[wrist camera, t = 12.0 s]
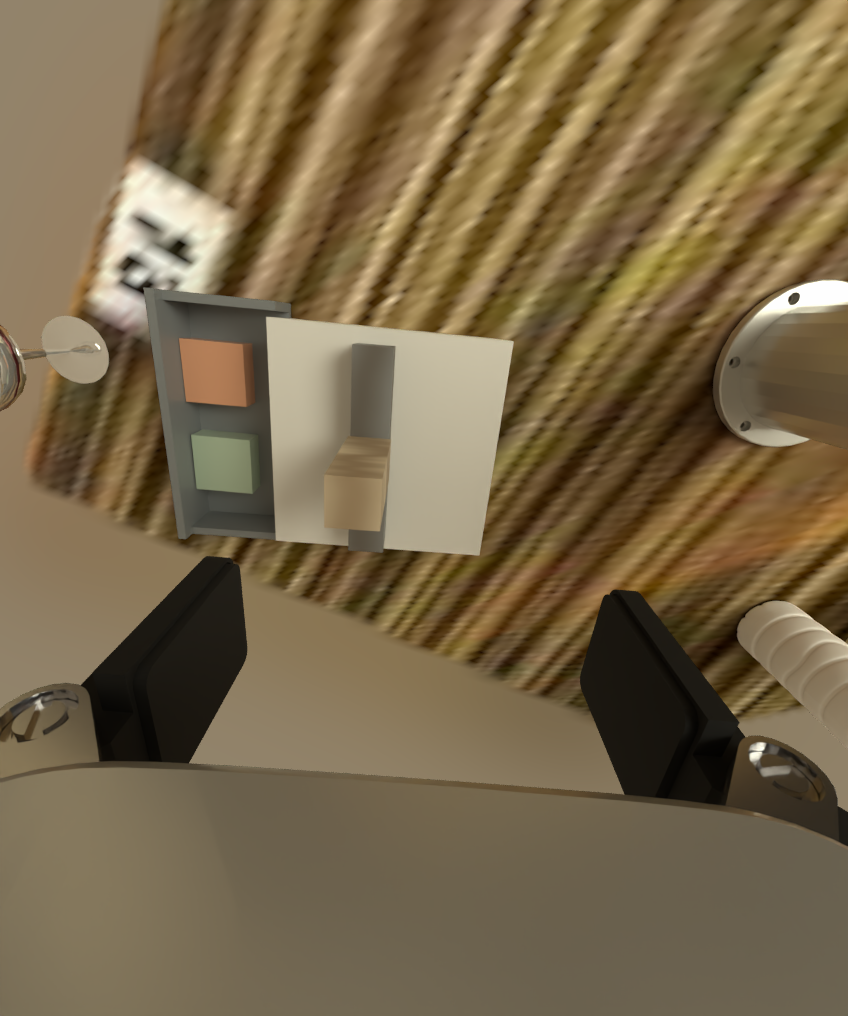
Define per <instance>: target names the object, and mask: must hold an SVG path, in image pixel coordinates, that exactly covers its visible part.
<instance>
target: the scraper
mask: <svg viewBox="0 0 848 1016" xmlns="http://www.w3.org/2000/svg"><path fill="white" fill-rule="evenodd" d="M395 348H396V346H387V345H376V344H365V343H355V344H352V377H351V429H350V436H348V437H347V438H346V440H345V442H344V443H343V445H342V447H341V448H340V450H339V451H338V453H337V455H336V456H335V458H334V459H333V461H332V463H331V464H330V466H329V468H328V469H327V471H326V472H325V474H324V528H337V529H349V533H348V550H350V551H365V552H381V553H383V548H384V541H385V529H386V511H387V493H388V482H389V470H390V452H391V420H392V402H393V384H394V366H395Z"/></svg>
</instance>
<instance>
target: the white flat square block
mask: <svg viewBox="0 0 848 1016" xmlns="http://www.w3.org/2000/svg"><path fill="white" fill-rule="evenodd" d="M266 326H267V349H268V372H269V395H270V418H271V440H272V463H273V486H274V509H275V532H276V541H289V542H302V543H316V544H330V545H343V546H348V533H349V529H337V528H324V474H325V472H326V471H327V469H328V468H329V466H330V464H331V463H332V461H333V459H334V458H335V456H336V455H337V453H338V451H339V450H340V448H341V447H342V445H343V443H344V442H345V440H346V438H347V437H348V436H350V429H351V377H352V344H355V343H365V344H376V345H387V346H396V348H395V366H394V384H393V402H392V420H391V452H390V470H389V482H388V493H387V511H386V529H385V541H384V549H398V550H411V551H425V552H439V553H452V554H466V555H480V548H481V542H482V536H483V530H484V523H485V517H486V511H487V505H488V498H489V492H490V486H491V480H492V473H493V467H494V461H495V455H496V448H497V442H498V436H499V430H500V423H501V417H502V411H503V405H504V398H505V392H506V386H507V380H508V374H509V367H510V361H511V355H512V349H513V342H514V341H508V340H502V339H494V338H484V337H474V336H464V335H454V334H444V333H434V332H424V331H414V330H403V329H393V328H383V327H373V326H363V325H353V324H343V323H333V322H323V321H313V320H303V319H293V318H277V317H266Z"/></svg>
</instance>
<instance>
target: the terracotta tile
mask: <svg viewBox="0 0 848 1016" xmlns="http://www.w3.org/2000/svg"><path fill="white" fill-rule="evenodd" d="M179 344H180V353H181V361H182V370H183V379H184V388H185V396H186V402H196V403H208V404H219V405H230V406H241V407H248V406H250V405H252V404H254V403H255V386H254V368H253V349H252V343H244V342H234V341H224V340H213V339H203V338H193V337H191V338H179Z"/></svg>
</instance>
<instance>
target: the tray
mask: <svg viewBox="0 0 848 1016" xmlns="http://www.w3.org/2000/svg"><path fill="white" fill-rule="evenodd" d="M144 295H145V302H146V309H147V316H148V323H149V331H150V338H151V345H152V352H153V359H154V366H155V373H156V381H157V388H158V395H159V402H160V409H161V416H162V424H163V431H164V438H165V445H166V452H167V459H168V466H169V474H170V481H171V488H172V495H173V502H174V509H175V517H176V524H177V531H178V538H179V539H187V538H188V537H189V536H190V535H191V534H204V535H218V536H231V537H245V538H259V539H272V540H276V532H275V509H274V486H273V463H272V440H271V418H270V395H269V372H268V349H267V326H266V317H277V318H291V304H288V303H282V302H277V301H268V300H258V299H249V298H239V297H229V296H219V295H209V294H199V293H189V292H179V291H169V290H160V289H153V288H144ZM191 337H193V338H203V339H213V340H224V341H234V342H244V343H252V349H253V368H254V386H255V403H254V404H252V405H250V406H248V407H241V406H230V405H219V404H208V403H196V402H186V396H185V388H184V379H183V370H182V361H181V353H180V344H179V338H191ZM202 429H204V430H215V431H225V432H236V433H246V434H257V435H258V441H259V464H260V487H259V488H258V489H257V490H256V491H255V492H254V493H253V494H249V493H238V492H227V491H215V490H204V489H197V487H196V477H195V468H194V458H193V449H192V439H191V435H192V434H194V433H196V432H198V431H200V430H202Z"/></svg>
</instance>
